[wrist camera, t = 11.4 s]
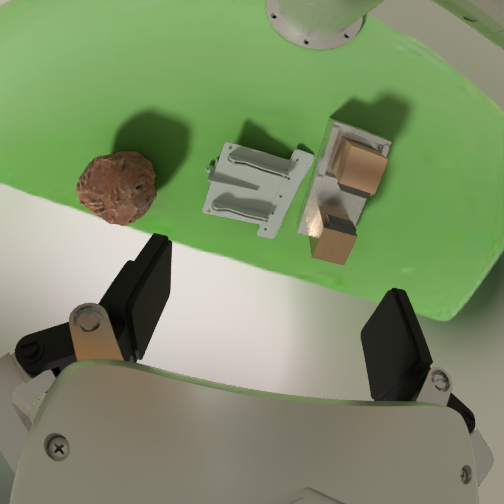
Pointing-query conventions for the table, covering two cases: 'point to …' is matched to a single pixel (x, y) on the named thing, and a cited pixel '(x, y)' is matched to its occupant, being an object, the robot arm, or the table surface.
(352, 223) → the white desk organizer
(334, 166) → the wood grain cube
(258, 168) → the metal bracket
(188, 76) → the table surface
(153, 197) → the decorative rock
